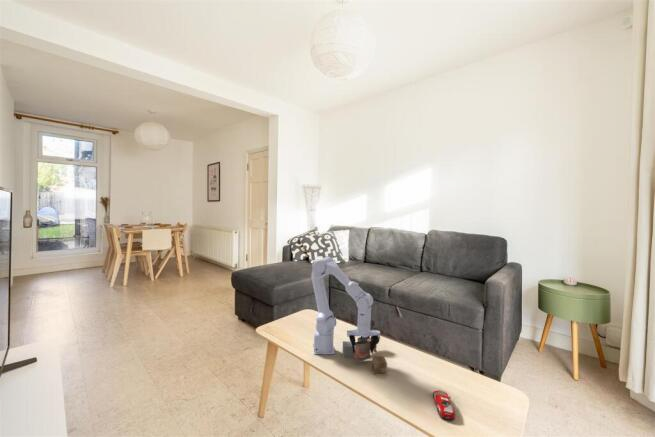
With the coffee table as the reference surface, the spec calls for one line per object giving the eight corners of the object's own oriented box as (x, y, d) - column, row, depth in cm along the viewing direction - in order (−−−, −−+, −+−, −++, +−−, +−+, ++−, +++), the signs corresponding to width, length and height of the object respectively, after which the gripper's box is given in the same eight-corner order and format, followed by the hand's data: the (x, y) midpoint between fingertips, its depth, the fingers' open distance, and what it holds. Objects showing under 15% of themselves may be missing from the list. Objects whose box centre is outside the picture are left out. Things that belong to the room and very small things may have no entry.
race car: (431, 394, 107) (432, 384, 107) (446, 396, 106) (447, 386, 106) (438, 420, 94) (439, 408, 94) (456, 423, 93) (456, 411, 93)
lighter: (356, 362, 124) (357, 340, 123) (352, 358, 127) (353, 336, 126) (372, 358, 127) (373, 336, 127) (367, 354, 130) (368, 333, 130)
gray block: (343, 357, 131) (343, 346, 130) (342, 351, 136) (342, 341, 135) (354, 357, 131) (354, 346, 130) (352, 351, 136) (353, 341, 135)
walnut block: (374, 374, 118) (375, 362, 118) (372, 367, 123) (372, 356, 123) (386, 374, 118) (387, 362, 118) (383, 367, 123) (384, 356, 123)
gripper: (348, 325, 122) (347, 356, 122) (382, 326, 122) (381, 356, 123) (346, 318, 129) (345, 348, 129) (378, 319, 129) (377, 348, 130)
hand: (362, 351), depth 127 cm, fingers closed on lighter, 7 cm apart
